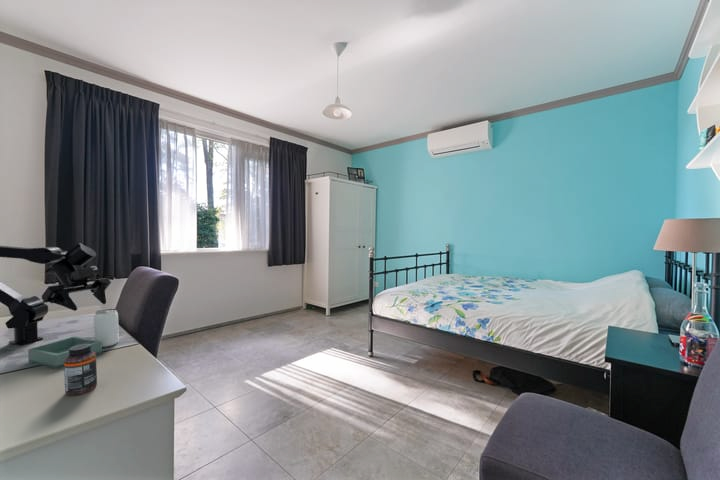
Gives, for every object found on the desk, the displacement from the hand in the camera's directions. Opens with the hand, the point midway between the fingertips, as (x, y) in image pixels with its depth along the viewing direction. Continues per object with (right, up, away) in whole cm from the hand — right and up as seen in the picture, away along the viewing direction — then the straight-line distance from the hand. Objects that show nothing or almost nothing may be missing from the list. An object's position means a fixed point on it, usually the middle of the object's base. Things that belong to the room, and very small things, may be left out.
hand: (91, 306), depth 107 cm
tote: (+3, -13, -12) cm, 19 cm away
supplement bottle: (+26, -14, -31) cm, 43 cm away
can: (+7, -13, -1) cm, 15 cm away
